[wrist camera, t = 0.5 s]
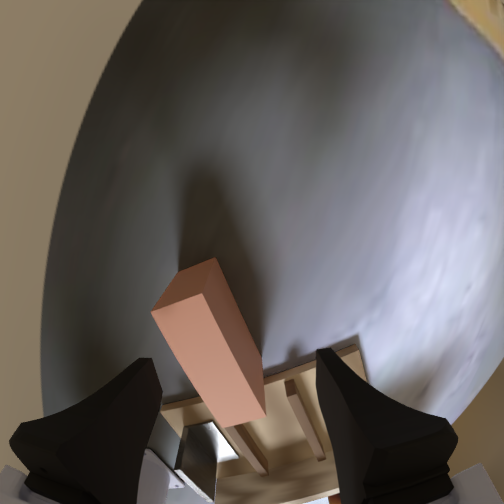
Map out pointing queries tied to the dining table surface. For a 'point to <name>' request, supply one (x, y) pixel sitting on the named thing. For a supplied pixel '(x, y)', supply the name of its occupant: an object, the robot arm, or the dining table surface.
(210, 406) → the slim book
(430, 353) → the dining table surface
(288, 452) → the beige slotted rack
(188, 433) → the bookend
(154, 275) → the dining table surface
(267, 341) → the dining table surface
